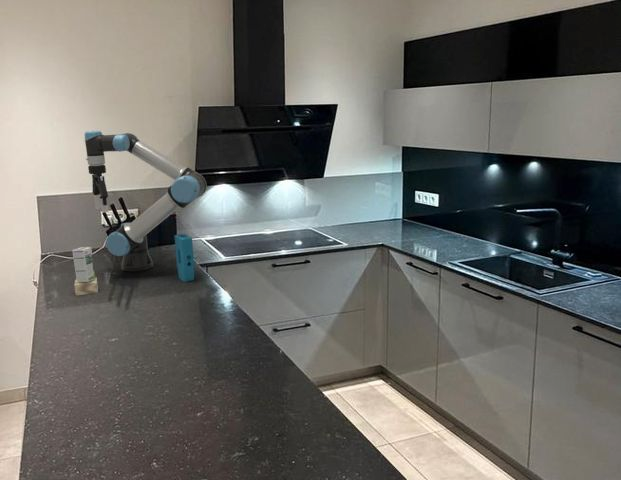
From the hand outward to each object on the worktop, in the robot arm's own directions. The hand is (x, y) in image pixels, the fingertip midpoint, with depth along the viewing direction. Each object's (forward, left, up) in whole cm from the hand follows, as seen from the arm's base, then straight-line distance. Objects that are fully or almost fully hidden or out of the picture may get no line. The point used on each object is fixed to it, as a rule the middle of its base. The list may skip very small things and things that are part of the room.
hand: (102, 210), depth 271 cm
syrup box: (+14, +22, -27) cm, 37 cm away
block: (-29, +29, -32) cm, 52 cm away
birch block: (+14, +22, -32) cm, 41 cm away
